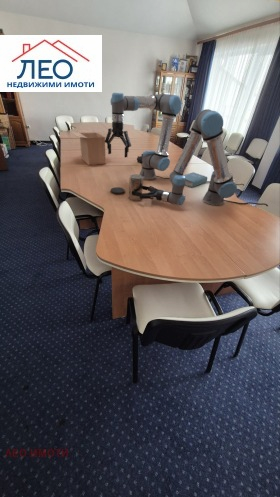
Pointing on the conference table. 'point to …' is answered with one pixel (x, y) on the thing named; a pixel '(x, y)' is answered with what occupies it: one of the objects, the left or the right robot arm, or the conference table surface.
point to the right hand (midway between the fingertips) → (135, 189)
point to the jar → (135, 186)
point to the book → (194, 179)
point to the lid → (117, 191)
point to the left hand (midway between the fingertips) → (117, 155)
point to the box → (92, 146)
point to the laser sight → (139, 159)
